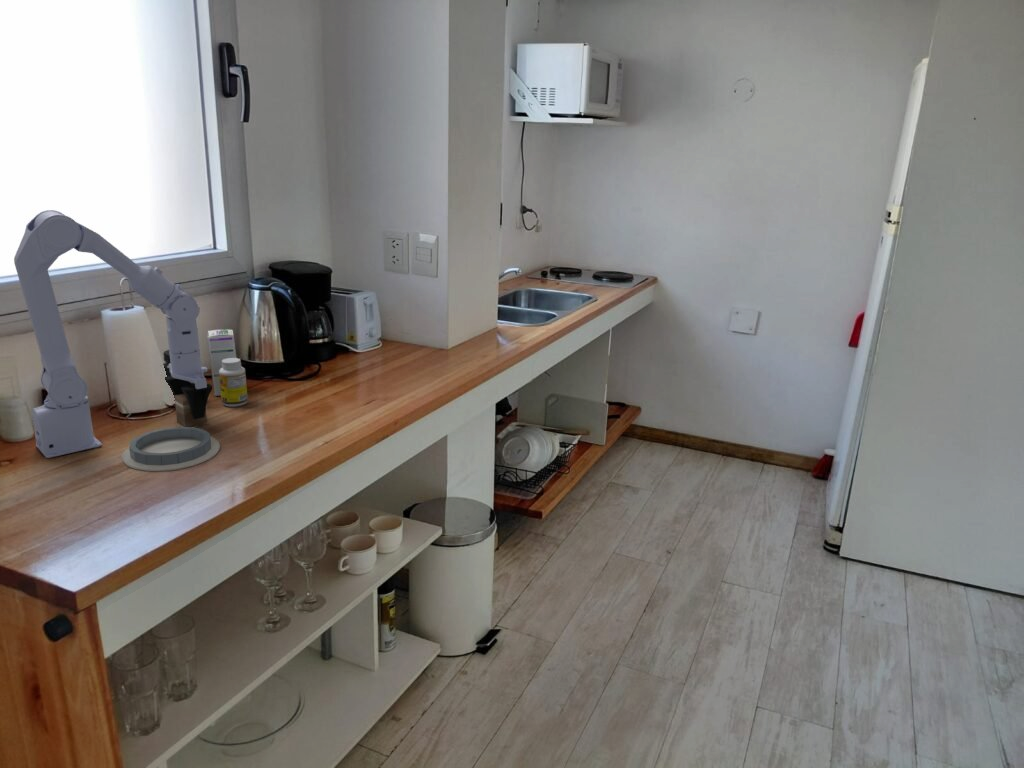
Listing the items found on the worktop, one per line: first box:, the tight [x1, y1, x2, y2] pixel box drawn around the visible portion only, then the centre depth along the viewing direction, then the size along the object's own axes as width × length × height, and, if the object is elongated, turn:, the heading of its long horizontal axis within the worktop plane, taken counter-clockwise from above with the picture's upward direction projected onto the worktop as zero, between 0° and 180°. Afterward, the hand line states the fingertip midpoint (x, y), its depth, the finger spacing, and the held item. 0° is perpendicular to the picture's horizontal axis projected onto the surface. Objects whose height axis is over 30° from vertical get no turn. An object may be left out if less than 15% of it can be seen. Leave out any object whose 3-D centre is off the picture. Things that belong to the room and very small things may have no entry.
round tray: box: [121, 426, 221, 472], centre depth 144 cm, size 17×17×2 cm
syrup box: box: [207, 328, 238, 397], centre depth 177 cm, size 6×6×14 cm
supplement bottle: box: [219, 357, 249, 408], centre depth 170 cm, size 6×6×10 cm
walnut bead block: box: [174, 394, 208, 428], centre depth 159 cm, size 5×5×6 cm
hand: (191, 412), depth 159 cm, fingers open, 7 cm apart
